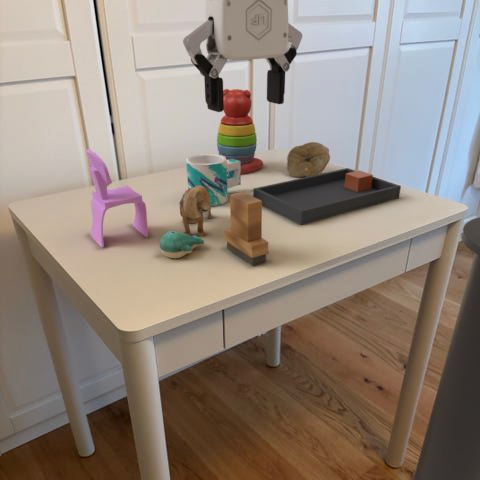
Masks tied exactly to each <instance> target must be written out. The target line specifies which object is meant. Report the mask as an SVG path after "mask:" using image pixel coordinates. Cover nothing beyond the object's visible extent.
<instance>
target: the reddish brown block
mask: <svg viewBox="0 0 480 480" xmlns="http://www.w3.org/2000/svg"><path fill="white" fill-rule="evenodd" d="M373 177H374V175H373V174H371V173H369V172H366V171H363V170H355V172H350V173H346V176H345V186H344V187H345V188H347V189H350V190H353V191H355V192H360V191H364V190H368V189H371V186H372V178H373Z"/></svg>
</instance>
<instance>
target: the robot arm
mask: <svg viewBox="0 0 480 480" xmlns="http://www.w3.org/2000/svg"><path fill="white" fill-rule="evenodd" d="M204 7H205V11H204V22H203V23H202V24H201V25H199V26H198V27H196V28H195V29H194V30H193V31H191V32H190V33H188V35H186V36H185V37H184V38H183V39H182V43H183V45H184V48H185V50H186V52H187V54H188V56H189V57H190V62H191V63H192V64H193V66H194V67H195V68H196V69H197V70H198V71H199V73H200V75H201V76H202V77H203V78H204V79H203V82H204V98H205V99H204V100H205V104H206V107H207V109H208V110H210V111H213V112H216V113H222V112H224V99H223V90H224V80H223V77H220V74H221V72H222V70H223V69H224V67H225V65H226V64H227V62H228V60H229V61H247V60H248V61H249V60H264V59H265V60H266V62H267V63H268V65H269V66H270V69H268V70H267V73H266V101H267V102H268V103H272V104H276V105H283V104H284V102H285V93H286V72H289V70H290V68H291V64H292V63H293V61H294V59H295V58H296V57H297V53H298V51H297V50H298V49H299V46H300V44H301V41H302V39H303V33H302V32H301V31H300V30H299V29H297V28H296V27H294V26H293V25H292V24H290V23H289V3H288V0H205V6H204ZM204 41H205V47H206V53H207V54H208V55H207V56H205V55H204V54H203V52H202V49H201V44H202V43H203V42H204Z"/></svg>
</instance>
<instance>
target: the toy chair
mask: <svg viewBox="0 0 480 480" xmlns="http://www.w3.org/2000/svg"><path fill="white" fill-rule="evenodd" d="M85 153H86V156H87V160H88V163H89V165H90V166H88V170H89V173H90V176H91V179H92V182H93V186H94V189H95V191H92V192H91V194H92V198H91V200H90V207H91V217H92V220H91V229H90V234H89V236H90V237H91V238H92V239H93V240H94V241H95V243H96V244H98V246H99V247H100V248H102V249H103V248H105V244H104V219H105V215H106V212H107V211H108V210H109V209H111V208H116V207H119V206H121V205H127V204H133V206H134V219H133V223H132V227H133V228H134V229H136V230H137V231H138V232H139V233H140V234H141V235H143V236H144V237H145V238H148V237H149V229H148V215H147V214H148V212H147V205H146V203H145V201H143V196H142V194H140V193H139V192H137V191H135V190H134V189H133V188H132V187H130V186H129V185H125V186H119V187H116V188H111V189H108V187H109V186H110V185H111V184H112V183H113V181H112V179H111V176H110V173H109V170H108V167H107V165H106V163H105V162H104V160H103V159H102V158H101V157H100V156H99V155H98V154H96V152H94V151H93V150H92V149H90V148H88V149H86V150H85Z"/></svg>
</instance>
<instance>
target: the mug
mask: <svg viewBox="0 0 480 480" xmlns="http://www.w3.org/2000/svg"><path fill="white" fill-rule="evenodd" d="M185 163H186V176H187V190H188V189H191V188H193V187H196V186H199V185H200V186H202V187H205V188H206V189H207V191H208V195H209V203H211V205H210V207H211V208H212V207H217V206H221V205H223V204H225V203H227V202H228V201H229V200H228V189H231V188H234V187H238V186H241V185H242V177H241V175H242V174H241V166H240V161H239V160H235V159H229V160H226V157H224V156H221V155H219V154H217V153H200V154H192V155H191V156H189V157H186V158H185ZM227 172H228V174H227Z"/></svg>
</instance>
